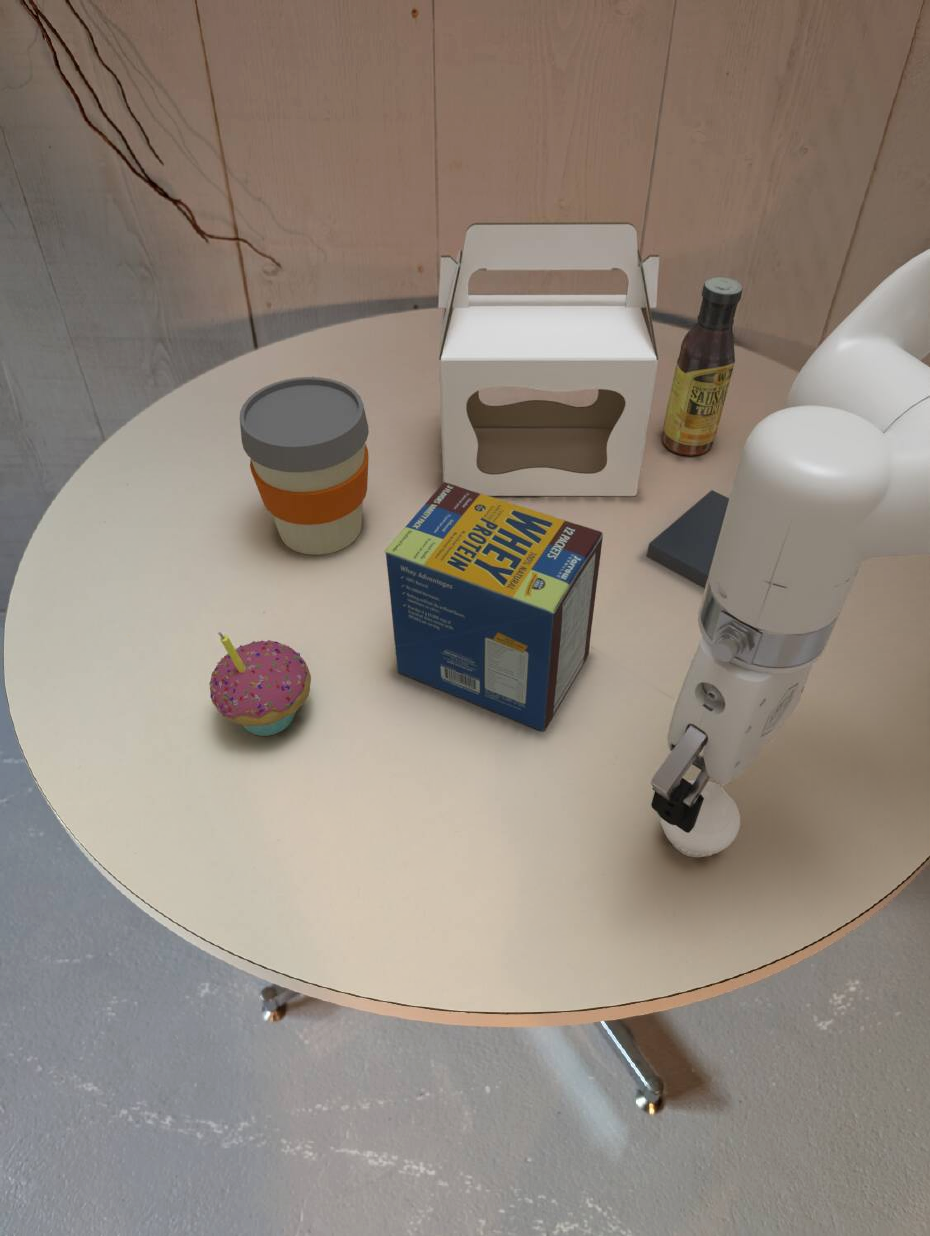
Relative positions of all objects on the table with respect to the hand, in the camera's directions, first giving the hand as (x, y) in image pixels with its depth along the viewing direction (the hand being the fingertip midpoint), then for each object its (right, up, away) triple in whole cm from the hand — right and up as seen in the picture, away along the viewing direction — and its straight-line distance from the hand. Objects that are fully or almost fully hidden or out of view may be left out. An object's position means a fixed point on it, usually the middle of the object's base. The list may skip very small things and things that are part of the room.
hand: (709, 775), depth 66 cm
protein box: (-15, +7, +20) cm, 26 cm away
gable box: (-9, +30, +41) cm, 52 cm away
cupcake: (-35, +3, +16) cm, 39 cm away
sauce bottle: (+9, +32, +44) cm, 55 cm away
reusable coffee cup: (-33, +21, +34) cm, 52 cm away
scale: (+11, +18, +29) cm, 36 cm away
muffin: (0, -6, +7) cm, 10 cm away
